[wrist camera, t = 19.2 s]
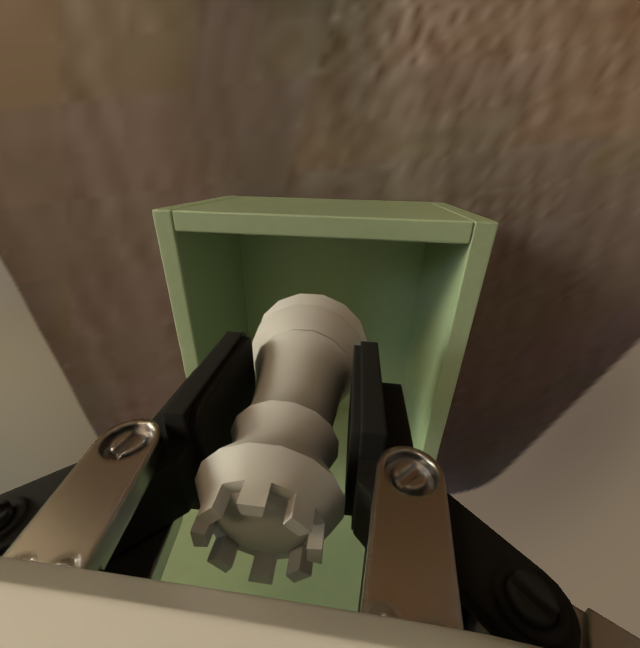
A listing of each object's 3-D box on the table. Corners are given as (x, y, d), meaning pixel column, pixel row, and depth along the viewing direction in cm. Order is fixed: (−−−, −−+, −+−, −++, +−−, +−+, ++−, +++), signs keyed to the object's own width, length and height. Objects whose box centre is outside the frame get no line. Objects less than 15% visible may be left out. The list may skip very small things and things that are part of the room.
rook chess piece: (386, 357, 13) (421, 589, 6) (298, 397, 14) (239, 621, 7) (330, 267, 11) (282, 425, 4) (238, 321, 13) (90, 506, 6)
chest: (228, 195, 19) (150, 209, 12) (444, 202, 18) (499, 222, 11) (249, 400, 26) (207, 485, 19) (404, 414, 24) (422, 511, 17)
